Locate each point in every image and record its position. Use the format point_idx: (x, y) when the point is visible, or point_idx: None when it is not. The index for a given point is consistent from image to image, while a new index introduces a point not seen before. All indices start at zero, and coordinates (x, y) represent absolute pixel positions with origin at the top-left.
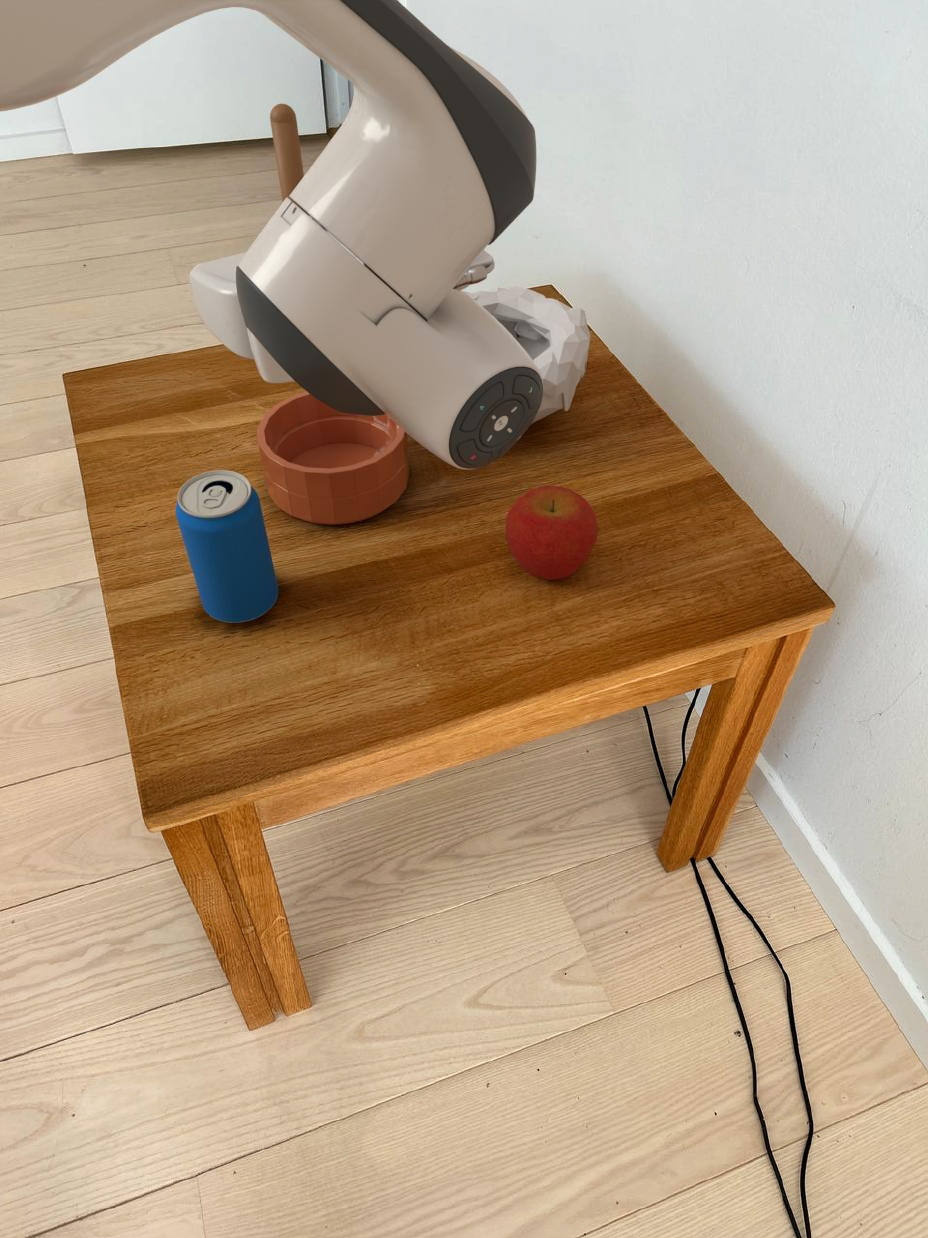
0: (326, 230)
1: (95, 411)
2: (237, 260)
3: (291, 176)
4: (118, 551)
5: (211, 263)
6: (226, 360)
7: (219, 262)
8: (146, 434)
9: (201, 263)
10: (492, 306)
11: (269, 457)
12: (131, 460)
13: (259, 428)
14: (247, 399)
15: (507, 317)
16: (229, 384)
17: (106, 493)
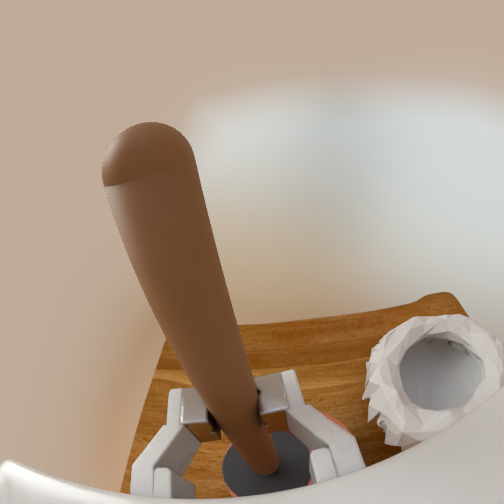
0: (290, 419)
1: (167, 354)
2: (37, 501)
3: (181, 344)
4: (130, 475)
5: (12, 476)
6: (252, 330)
7: (19, 483)
8: (183, 383)
9: (7, 464)
10: (443, 333)
11: (225, 483)
12: (166, 403)
13: (230, 445)
14: (254, 369)
15: (451, 340)
16: (247, 352)
17: (143, 424)
